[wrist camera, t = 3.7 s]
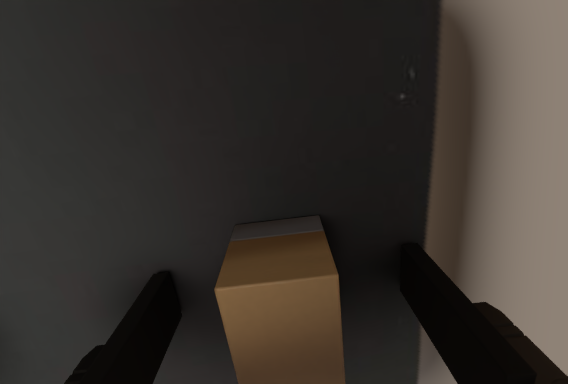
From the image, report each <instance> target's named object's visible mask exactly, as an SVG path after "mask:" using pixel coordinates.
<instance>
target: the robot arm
mask: <svg viewBox="0 0 568 384" xmlns="http://www.w3.org/2000/svg"><path fill="white" fill-rule="evenodd" d="M400 291H401V292H402V294H403V296H404V297H405V299H406V301H407V302H408V304H409V305H410V307H411V309H412V310H413V312H414V314H415V315H416V317H417V318H418V320H419V322H420V323H421V325H422V327H423V328H424V330H425V331H426V333H427V335H428V336H429V338H430V339H431V341H432V343H433V344H434V346H435V348H436V349H437V350H438V353H439V354H440V356H441V357H442V359H443V361H444V362H445V364H446V366H447V367H448V369H449V370H450V372H451V374H452V375H453V377H454V379H455V380H456V382H457V383H458V384H568V376H566V375H565V374H564V373H563V372H562V371H561V370H560V369H559V368H558V367H557V366H556V365H555V364H554V363H553V362H552V361H551V360H550V359H549V358H548V357H547V356H546V355H545V354H544V353H543V352H542V351H541V350H540V349H539V348H538V347H537V346H536V345H535V344H534V343H533V342H532V341H531V340H530V339H529V338H528V337H527V336H524V334H523V332H522V331H521V330H520V329H518V327H516V326H514V325H513V323H512V322H511V321H510V320H509V319H508V318H507V317H506V316H505V315H504V314H503V313H502V312H501V311H500V310H498V309H496V308H494V307H493V306H491V305H490V304H488V303H486V302H480V303H472V302H471V301H470V300H469V299H468V298H467V297H466V296H465V295H464V294H463V292H462V291H461V290H460V289H459V288H458V287H457V286H456V285H455V284H454V283H453V282H452V281H451V279H450V278H449V277H448V276H447V275H446V274H445V273H444V272H443V271H442V270H441V269H440V267H438V265H437V264H436V263H435V262H434V261H433V260H432V259H431V258H430V257H429V256H428V254H427V253H426V252H425V251H424V250H423V249H422V248H421V247H420V246H419V245H418V244H417V243H416V244H407V245H402V251H401V285H400ZM181 316H182V313H181V310H180V307H179V304H178V301H177V298H176V294H175V291H174V288H173V285H172V282H171V279H170V276H169V272H166V273H158V274H153V275H152V277H151V278H150V280H149V281H148V283H147V284H146V286H145V287H144V289H143V290H142V291H141V293H140V294H139V296H138V297H137V299H136V300H135V302H134V303H133V305H132V306H131V307H130V309H129V310H128V312H127V313H126V315H125V316H124V318H123V319H122V321H121V322H120V323H119V325H118V326H117V328H116V329H115V331H114V332H113V334H112V335H111V337H110V338H109V339H108V341H107V342H106V344H105V345H99V346H96V347H95V348H94V349H92V350H91V351H90V352H89V353H88V354H87V355H86V356H85V357H84V358H83V359H82V360H81V361H80V363H79V364H78V365H77V367H76V368H75V369H74V371H73V374H72V375H70V376H69V378H68V379H67V380H66V382H65V383H64V384H153V381H154V379H155V377H156V374H157V372H158V370H159V368H160V365H161V363H162V361H163V358H164V356H165V354H166V351H167V349H168V347H169V344H170V342H171V340H172V337H173V335H174V333H175V330H176V328H177V326H178V323H179V321H180V319H181Z"/></svg>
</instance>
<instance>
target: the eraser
mask: <svg viewBox="0 0 568 384" xmlns="http://www.w3.org/2000/svg"><path fill="white" fill-rule="evenodd" d="M214 290H215V294H216V298H217V302H218V306H219V310H220V313H221V317H222V321H223V325H224V329H225V333H226V337H227V341H228V345H229V348H230V352H231V356H232V360H233V364H234V368H235V372H236V376H237V380H238V384H345V370H344V354H343V337H342V321H341V305H340V289H339V275H338V272H337V269H336V266H335V263H334V260H333V257H332V254H331V251H330V248H329V245H328V242H327V238H326V235H325V232H324V229H323V226H322V223H321V220H320V217H319V215H316V216H308V217H299V218H291V219H282V220H274V221H265V222H257V223H248V224H240V225H235V227H234V230H233V233H232V236H231V239H230V242H229V245H228V249H227V252H226V255H225V258H224V261H223V264H222V267H221V270H220V273H219V276H218V280H217V283H216V286H215V289H214Z"/></svg>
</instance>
